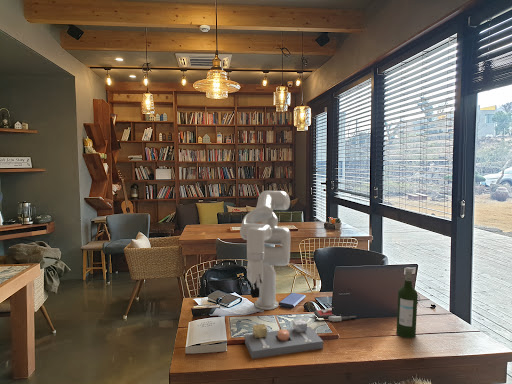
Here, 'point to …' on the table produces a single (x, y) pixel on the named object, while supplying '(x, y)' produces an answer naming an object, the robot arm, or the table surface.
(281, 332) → the terracotta button
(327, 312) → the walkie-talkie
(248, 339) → the grey slotted board
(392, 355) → the table surface
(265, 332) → the brass slider
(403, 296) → the wine bottle
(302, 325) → the grey slider
